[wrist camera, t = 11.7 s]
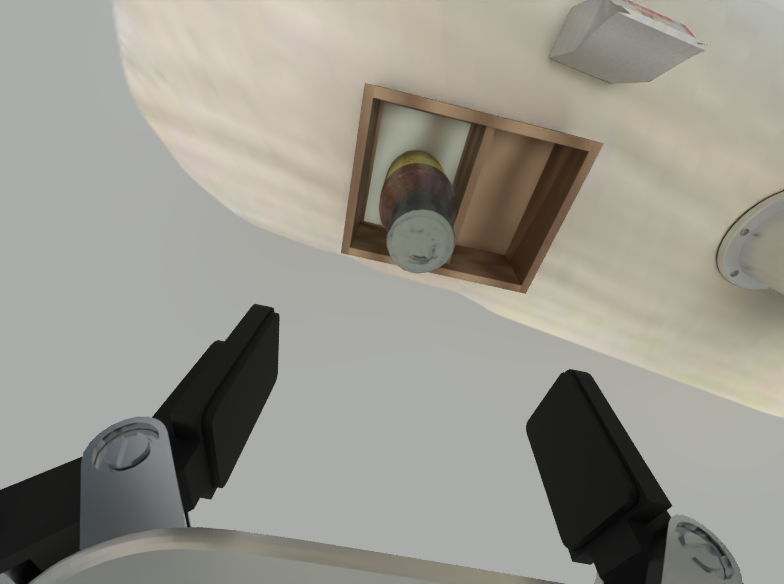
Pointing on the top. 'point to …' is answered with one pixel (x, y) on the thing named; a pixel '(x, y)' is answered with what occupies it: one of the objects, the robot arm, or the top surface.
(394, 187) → the sauce bottle
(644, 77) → the printed food box
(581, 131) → the top surface
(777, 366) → the top surface
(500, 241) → the crate
